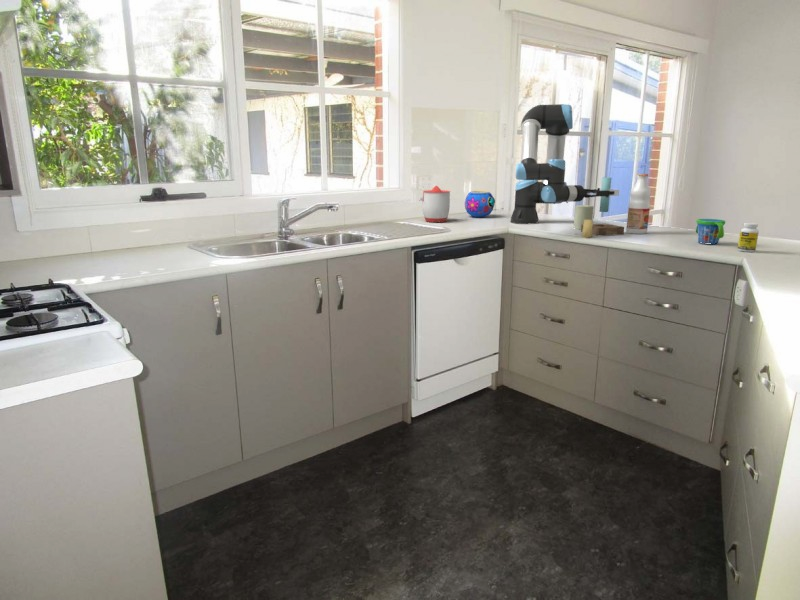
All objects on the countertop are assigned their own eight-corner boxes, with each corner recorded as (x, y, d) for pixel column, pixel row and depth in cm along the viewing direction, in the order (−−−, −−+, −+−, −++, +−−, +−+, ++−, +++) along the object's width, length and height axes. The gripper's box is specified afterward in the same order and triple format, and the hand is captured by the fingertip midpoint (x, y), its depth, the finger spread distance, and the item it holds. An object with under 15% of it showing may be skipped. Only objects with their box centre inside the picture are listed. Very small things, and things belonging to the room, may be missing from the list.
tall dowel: (597, 211, 270) (600, 177, 265) (604, 211, 271) (607, 177, 267) (602, 212, 266) (606, 177, 262) (610, 211, 267) (613, 177, 263)
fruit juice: (624, 231, 277) (630, 173, 269) (644, 231, 275) (651, 173, 267) (627, 234, 268) (634, 174, 260) (648, 234, 266) (655, 174, 259)
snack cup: (686, 240, 248) (689, 217, 245) (710, 240, 248) (713, 217, 245) (704, 246, 233) (708, 222, 230) (730, 246, 233) (733, 222, 230)
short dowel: (580, 236, 260) (581, 219, 258) (587, 236, 261) (589, 219, 259) (585, 238, 256) (587, 220, 254) (593, 237, 257) (594, 220, 255)
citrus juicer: (419, 219, 324) (419, 184, 319) (449, 219, 323) (449, 184, 318) (418, 223, 309) (419, 186, 304) (450, 223, 308) (451, 186, 303)
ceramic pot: (492, 219, 326) (493, 193, 322) (462, 218, 330) (463, 192, 326) (495, 215, 342) (496, 190, 338) (466, 215, 346) (466, 190, 342)
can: (588, 230, 281) (590, 206, 278) (570, 228, 286) (572, 205, 283) (594, 228, 288) (596, 204, 285) (577, 226, 293) (578, 203, 290)
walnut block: (580, 231, 276) (581, 224, 275) (604, 230, 280) (605, 223, 279) (598, 235, 263) (599, 228, 262) (623, 234, 267) (624, 226, 266)
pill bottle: (736, 251, 222) (741, 223, 219) (737, 249, 227) (742, 221, 224) (755, 253, 218) (759, 224, 216) (755, 250, 223) (760, 223, 221)
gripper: (562, 200, 270) (603, 198, 276) (583, 203, 254) (626, 201, 261) (563, 184, 268) (604, 183, 274) (584, 186, 252) (628, 185, 259)
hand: (615, 192), depth 268 cm, fingers closed on tall dowel, 4 cm apart
